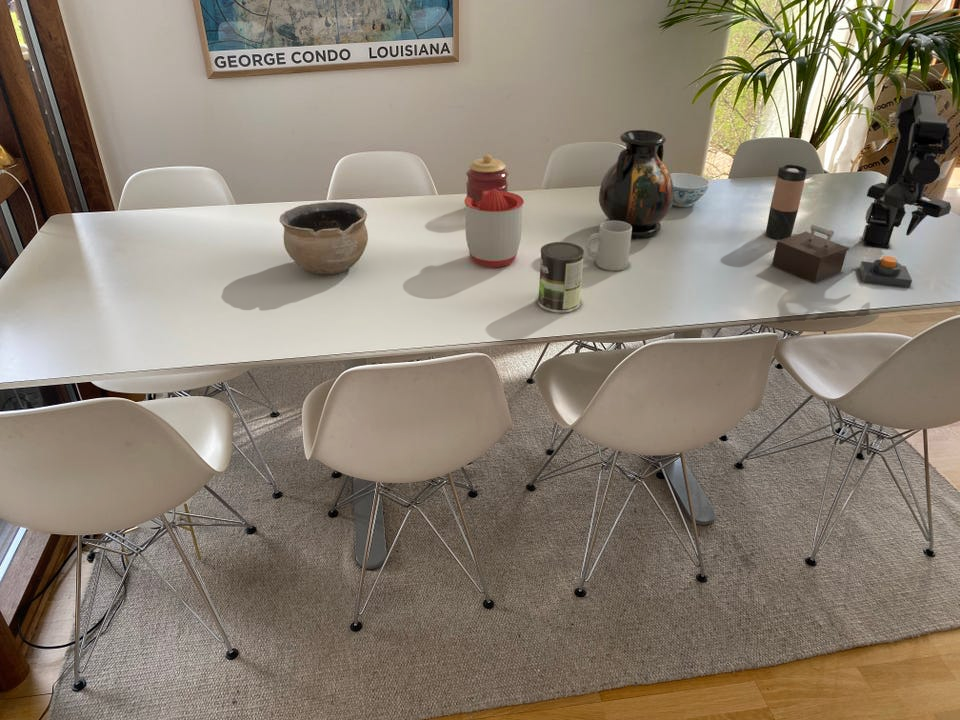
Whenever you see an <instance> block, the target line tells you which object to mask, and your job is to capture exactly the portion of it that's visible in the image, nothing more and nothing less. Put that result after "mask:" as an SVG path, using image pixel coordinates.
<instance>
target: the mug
mask: <svg viewBox="0 0 960 720" xmlns="http://www.w3.org/2000/svg"><path fill="white" fill-rule="evenodd" d="M605 221H606V220H605ZM605 221H603V222H601V224H599V230H598V232H595V233H591V234H590V235H589V236H588V238H587V241H586V254H587V255H588V257H589V258H594V259H595V258H596V265H597V267H598V268H600V269H603V270H605V271H612V272H617V271H622V270H625V269H627V268H628V266H629V259H630V251H631V250H630V249H631V242H632V241H631V240H632V238H631V233H632V226H631V225H630V224H628V223H626V222H622V221H606V222H605ZM594 240H598V242H597V249H596V251H592V250H591V246H592V243H593V241H594Z"/></svg>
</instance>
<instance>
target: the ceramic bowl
mask: <svg viewBox="0 0 960 720" xmlns="http://www.w3.org/2000/svg"><path fill="white" fill-rule="evenodd" d="M367 216H368V213H367V211H366V210H365V209H364V208H363V206H360V205H359V204H356V203H352V202H345V201H326V202H317V203H316V202H315V203H310V204H301V205H298V206H296V207H295V206H294V207H293V208H291V209H289V210H286V211H285V212H283V213H282V214H280V216H279V219H278V221H279V223H280V225H282V227H283V245H284V249H285V251H286V252H287V254H288V256H289V257H290V258H291V259H292V260H293V261H294V262H295V263H296V264H297V265H298V266H299V267H301V268H303V269H304V270H306V271H308V272H310V273H311V274H312V273H313V274H316V275H336V274H337V275H338V274H340V273H344V272H346V271H348V270H349V269H351V268H352V267H353V266H354V265H355V264H357V262H358V261H359V260H360V259H361V257H362V256H363V254H364V252H365V250H366V247H367V246H368V240H369V234H368V228H367V226H366V225H367V224H366V220H367Z"/></svg>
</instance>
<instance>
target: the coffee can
mask: <svg viewBox="0 0 960 720" xmlns="http://www.w3.org/2000/svg"><path fill="white" fill-rule="evenodd" d="M584 256H585V249H584V248H583V247H582V246H581V245H578V244H576V243H572V242H567V241H555V242H549V243H546V244H544V245H542V246H541V248H540V267H539V285H538V298H537V304H538V306H539V307H540V308H541V309H543V310H544V311H547V312H552V313H556V314H565V313H571V312H573V311H575V310H577V309H578V308H579V307H580V305H581V303H580V298H581V289H582V287H581V286H582V276H583V266H584V265H583V264H584Z"/></svg>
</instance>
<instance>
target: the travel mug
mask: <svg viewBox="0 0 960 720" xmlns="http://www.w3.org/2000/svg"><path fill="white" fill-rule="evenodd" d="M807 173H808V170H807V168H806V167H803V166H800V165H795V164H785V165H784V166H782V167H781V166H779V167H778V172H777V176H776V180H775V185H774V188H773V189H774V190H773V193H772V197H771V203H770V206H769V212H768V217H767V223H766V229H765V235H766V237H768V238H771V239H774V240H778V241H779V240H782V239H785V238H788V237H791V236H792V234H793V231H794V227H795V223H796V219H797V216H798V212H799V208H800V205H801V200H802V194H803V191H804V187H805V181H806V176H807Z"/></svg>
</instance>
